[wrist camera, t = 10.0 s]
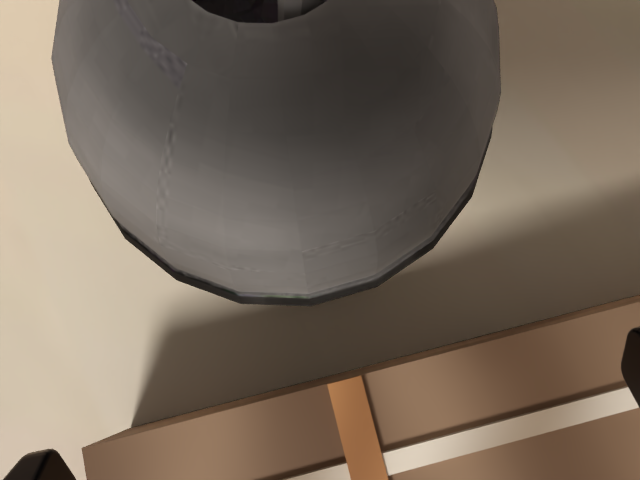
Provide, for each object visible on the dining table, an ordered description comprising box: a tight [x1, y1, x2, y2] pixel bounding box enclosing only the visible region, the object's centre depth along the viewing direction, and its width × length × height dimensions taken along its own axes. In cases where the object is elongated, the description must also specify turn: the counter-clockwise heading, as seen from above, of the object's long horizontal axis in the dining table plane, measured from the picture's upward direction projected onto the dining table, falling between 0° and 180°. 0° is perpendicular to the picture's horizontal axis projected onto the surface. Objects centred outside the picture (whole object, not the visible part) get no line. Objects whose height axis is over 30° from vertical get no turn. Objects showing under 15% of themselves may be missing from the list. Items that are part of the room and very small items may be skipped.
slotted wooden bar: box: [82, 295, 640, 480], centre depth 18 cm, size 26×5×4 cm, turn 104°
